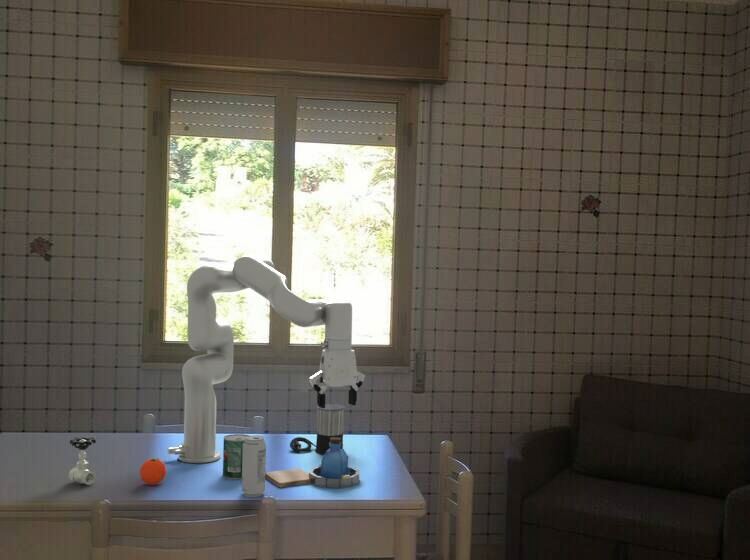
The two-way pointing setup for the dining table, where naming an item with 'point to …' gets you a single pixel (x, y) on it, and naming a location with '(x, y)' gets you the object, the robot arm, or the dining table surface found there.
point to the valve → (82, 462)
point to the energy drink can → (253, 466)
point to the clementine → (152, 471)
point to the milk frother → (324, 429)
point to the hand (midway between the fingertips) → (337, 406)
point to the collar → (334, 482)
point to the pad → (288, 477)
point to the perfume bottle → (334, 460)
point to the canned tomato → (233, 456)
